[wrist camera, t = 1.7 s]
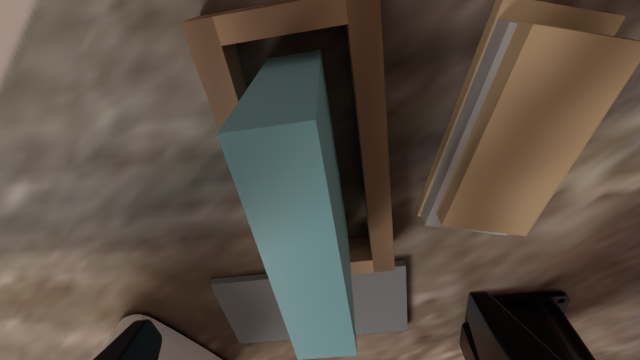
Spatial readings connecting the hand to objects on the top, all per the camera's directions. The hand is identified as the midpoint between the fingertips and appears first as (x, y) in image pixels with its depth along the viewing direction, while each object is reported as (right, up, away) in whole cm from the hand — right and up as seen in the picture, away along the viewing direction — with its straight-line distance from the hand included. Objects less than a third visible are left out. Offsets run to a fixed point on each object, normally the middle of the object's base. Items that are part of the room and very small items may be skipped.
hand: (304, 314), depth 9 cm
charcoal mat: (0, -5, +14) cm, 15 cm away
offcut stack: (+9, +7, +7) cm, 14 cm away
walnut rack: (0, +5, +8) cm, 9 cm away
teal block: (0, +5, +8) cm, 10 cm away
